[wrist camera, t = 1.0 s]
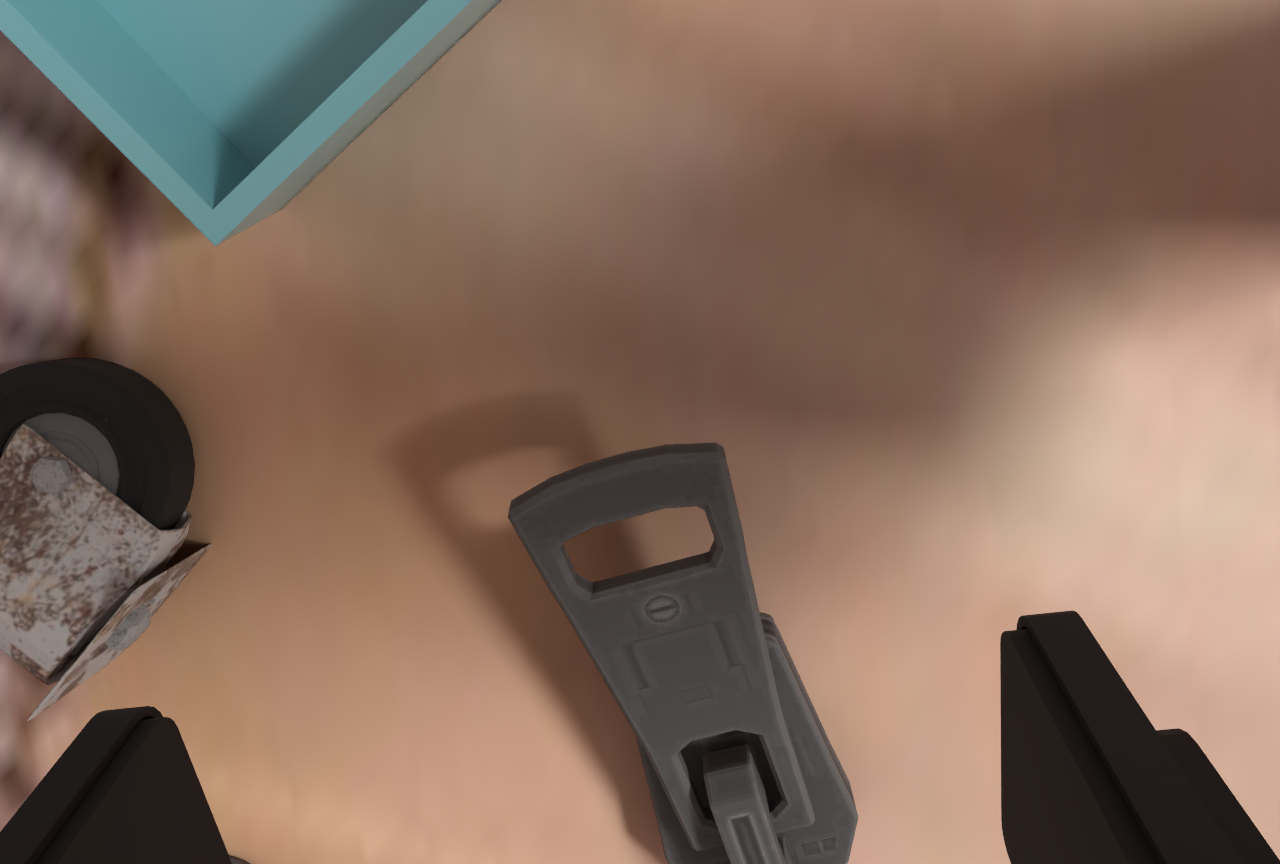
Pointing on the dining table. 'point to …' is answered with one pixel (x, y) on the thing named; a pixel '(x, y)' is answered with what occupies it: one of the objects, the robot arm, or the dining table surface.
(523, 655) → the dining table surface
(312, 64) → the bin
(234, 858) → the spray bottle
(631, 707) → the zipper pull
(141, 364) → the dining table surface
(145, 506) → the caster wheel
